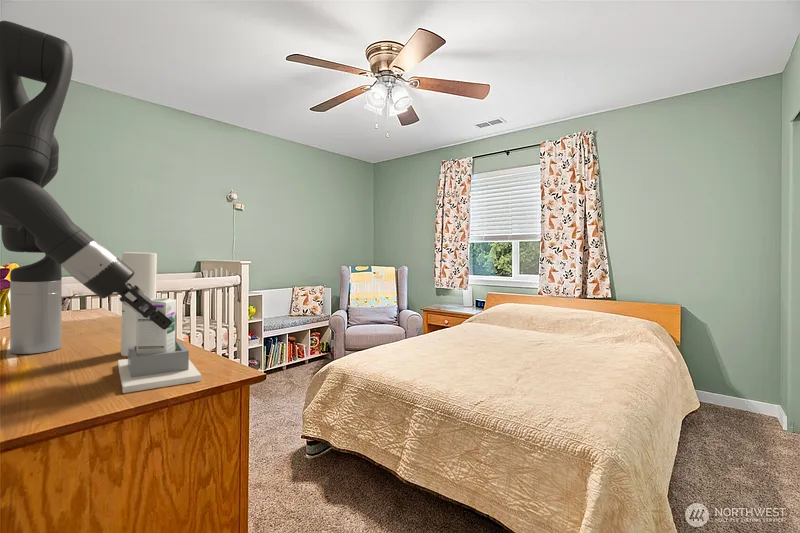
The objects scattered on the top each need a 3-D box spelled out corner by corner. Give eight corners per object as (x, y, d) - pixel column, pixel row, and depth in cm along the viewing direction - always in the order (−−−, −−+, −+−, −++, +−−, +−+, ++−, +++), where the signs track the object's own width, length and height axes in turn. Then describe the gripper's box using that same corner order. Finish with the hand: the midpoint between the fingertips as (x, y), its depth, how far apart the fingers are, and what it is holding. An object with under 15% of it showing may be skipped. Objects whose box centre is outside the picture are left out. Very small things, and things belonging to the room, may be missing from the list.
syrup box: (166, 371, 80) (167, 301, 80) (134, 371, 79) (135, 301, 79) (176, 363, 86) (177, 298, 85) (147, 363, 85) (148, 297, 84)
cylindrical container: (138, 357, 93) (139, 253, 92) (113, 354, 94) (114, 252, 93) (162, 350, 100) (163, 253, 99) (138, 347, 101) (140, 252, 100)
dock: (118, 365, 87) (118, 342, 86) (183, 357, 95) (184, 336, 94) (122, 393, 71) (123, 365, 71) (201, 380, 79) (201, 355, 79)
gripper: (117, 257, 72) (186, 314, 79) (114, 254, 83) (175, 305, 90) (79, 286, 68) (155, 343, 76) (82, 279, 80) (147, 330, 87)
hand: (165, 322), depth 83 cm, fingers open, 8 cm apart
